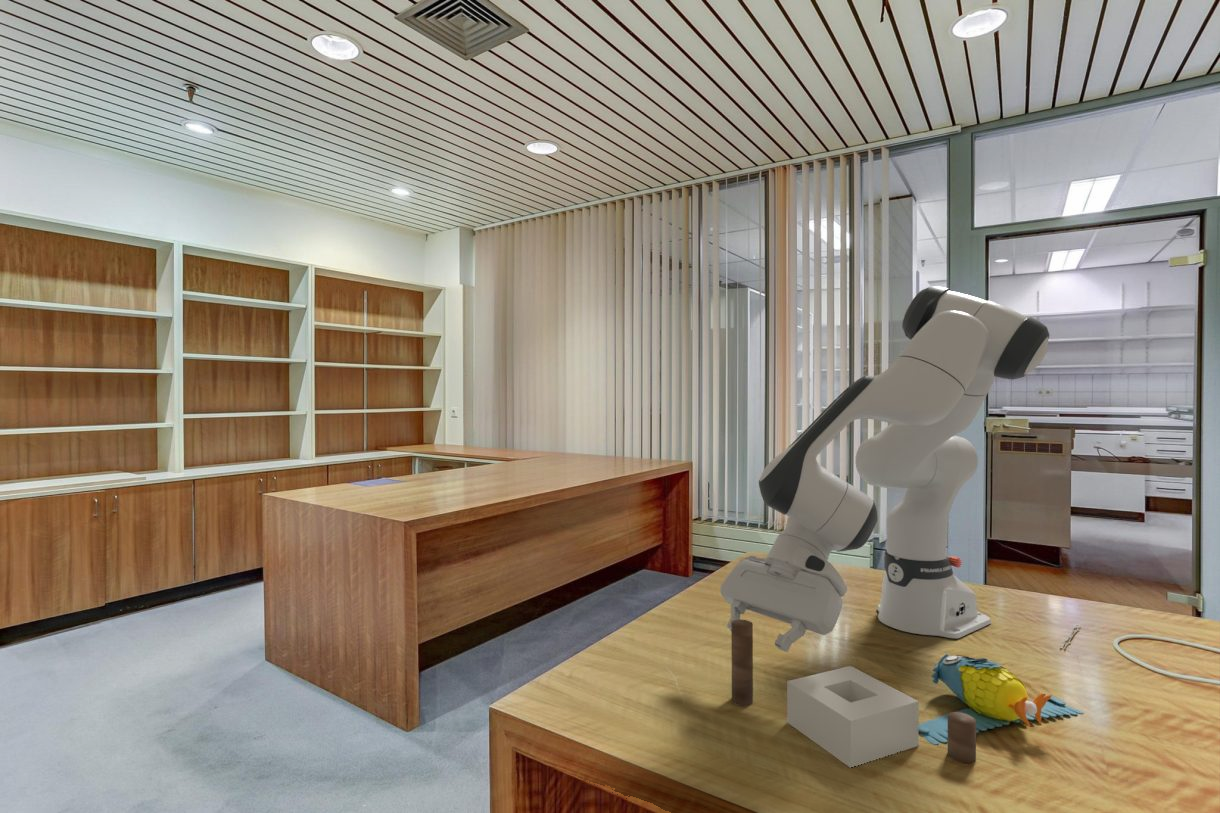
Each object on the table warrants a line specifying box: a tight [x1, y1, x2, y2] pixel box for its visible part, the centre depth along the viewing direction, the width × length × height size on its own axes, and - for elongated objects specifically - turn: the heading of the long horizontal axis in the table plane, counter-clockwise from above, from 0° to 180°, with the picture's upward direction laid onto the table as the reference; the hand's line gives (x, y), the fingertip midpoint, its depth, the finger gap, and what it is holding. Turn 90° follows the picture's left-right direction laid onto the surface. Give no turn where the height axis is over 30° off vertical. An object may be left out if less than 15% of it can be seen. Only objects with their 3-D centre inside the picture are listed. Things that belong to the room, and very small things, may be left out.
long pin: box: [730, 619, 754, 707], centre depth 95 cm, size 3×3×12 cm
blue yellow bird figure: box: [919, 653, 1085, 746], centre depth 91 cm, size 28×9×15 cm
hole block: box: [786, 665, 920, 769], centre depth 86 cm, size 12×12×6 cm
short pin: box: [947, 711, 977, 765], centre depth 80 cm, size 3×3×5 cm
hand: (755, 639), depth 96 cm, fingers open, 8 cm apart
